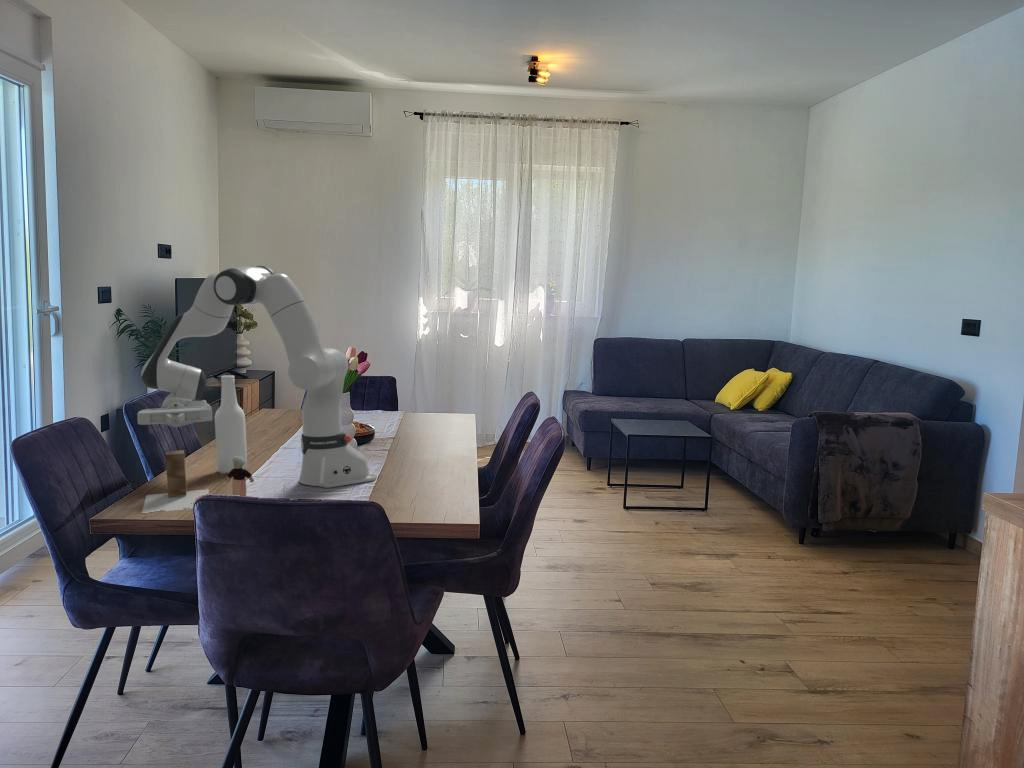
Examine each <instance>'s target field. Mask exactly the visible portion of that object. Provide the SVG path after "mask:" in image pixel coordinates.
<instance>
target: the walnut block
mask: <svg viewBox="0 0 1024 768" xmlns="http://www.w3.org/2000/svg"><path fill="white" fill-rule="evenodd" d="M185 456H186V455H185V450H184V449H180V450H169V451H166V452H165V465H166V466H165V467H166V478H167V479H166V480H167V481H166V484H167V493H168V498H173V497H184V496H186V494H187V475H186V459H185V458H186V457H185Z"/></svg>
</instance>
